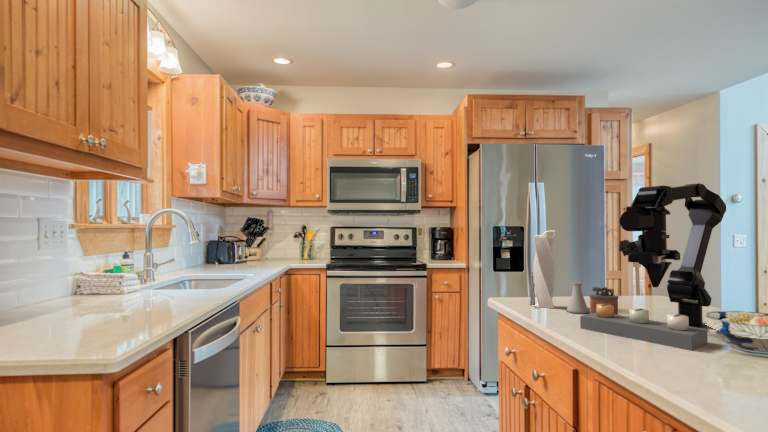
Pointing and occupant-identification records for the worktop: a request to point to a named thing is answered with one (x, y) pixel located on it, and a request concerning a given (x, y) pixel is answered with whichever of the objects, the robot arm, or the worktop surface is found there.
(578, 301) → the flask
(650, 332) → the knob mount
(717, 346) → the worktop surface
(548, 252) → the skyscraper
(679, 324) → the knob
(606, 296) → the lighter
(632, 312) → the knob centre
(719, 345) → the worktop surface
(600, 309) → the knob
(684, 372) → the worktop surface
